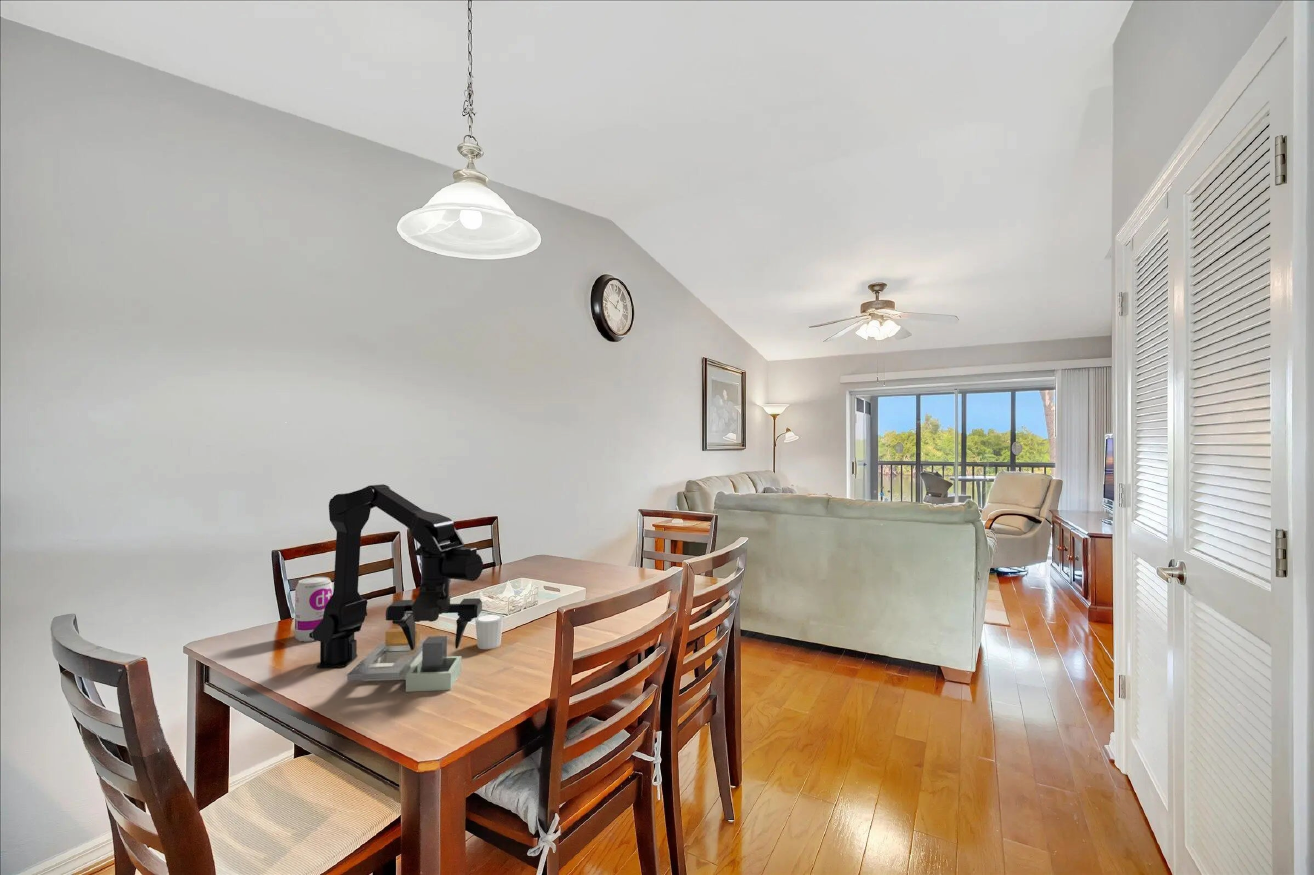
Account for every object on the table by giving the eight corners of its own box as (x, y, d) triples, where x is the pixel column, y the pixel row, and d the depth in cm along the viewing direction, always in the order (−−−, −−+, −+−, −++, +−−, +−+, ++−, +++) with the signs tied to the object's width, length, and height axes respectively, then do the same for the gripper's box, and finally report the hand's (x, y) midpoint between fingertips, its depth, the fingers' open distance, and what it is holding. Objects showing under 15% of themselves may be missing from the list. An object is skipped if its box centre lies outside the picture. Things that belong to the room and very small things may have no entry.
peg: (417, 687, 116) (418, 644, 116) (425, 676, 121) (425, 635, 121) (444, 686, 116) (444, 643, 116) (450, 675, 122) (451, 634, 122)
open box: (405, 691, 114) (405, 674, 114) (419, 673, 123) (419, 657, 123) (450, 689, 115) (450, 673, 115) (461, 671, 124) (461, 656, 124)
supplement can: (337, 635, 146) (338, 578, 146) (304, 644, 139) (305, 585, 139) (322, 629, 150) (322, 574, 151) (288, 638, 144) (289, 581, 144)
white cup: (494, 651, 136) (495, 622, 136) (469, 649, 137) (469, 620, 137) (507, 641, 143) (508, 614, 143) (483, 639, 144) (483, 612, 144)
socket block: (380, 662, 128) (380, 649, 128) (424, 660, 130) (425, 648, 130) (362, 681, 119) (362, 667, 119) (410, 679, 120) (410, 665, 120)
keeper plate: (382, 647, 129) (382, 629, 129) (426, 645, 130) (426, 627, 130) (347, 680, 111) (347, 659, 111) (398, 678, 112) (398, 657, 112)
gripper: (375, 587, 110) (374, 665, 110) (471, 585, 112) (470, 662, 112) (395, 573, 121) (395, 644, 121) (482, 572, 123) (482, 642, 123)
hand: (434, 648), depth 119 cm, fingers open, 9 cm apart
